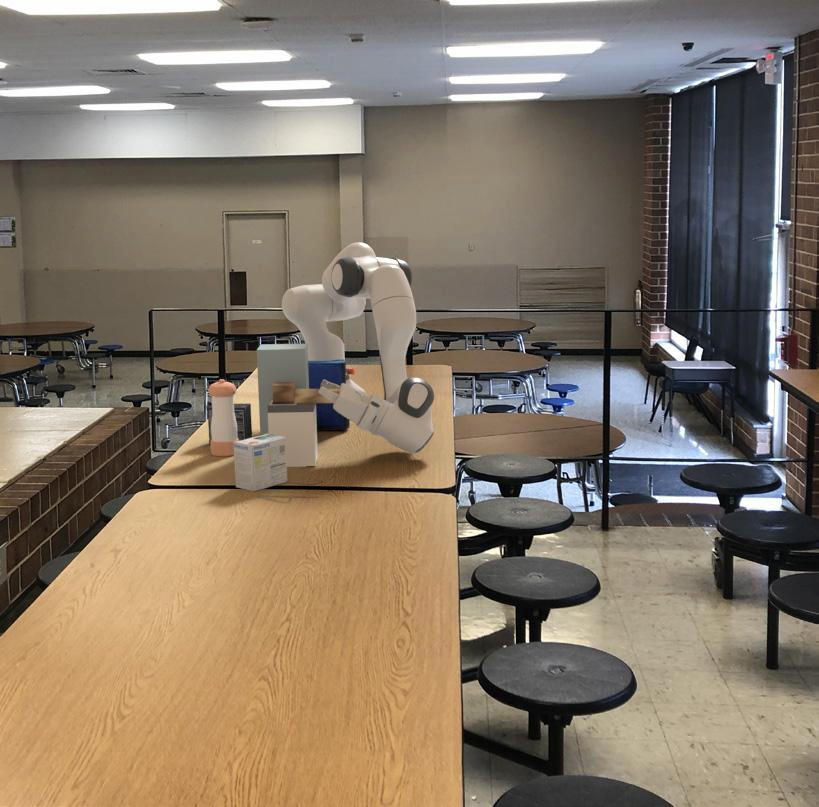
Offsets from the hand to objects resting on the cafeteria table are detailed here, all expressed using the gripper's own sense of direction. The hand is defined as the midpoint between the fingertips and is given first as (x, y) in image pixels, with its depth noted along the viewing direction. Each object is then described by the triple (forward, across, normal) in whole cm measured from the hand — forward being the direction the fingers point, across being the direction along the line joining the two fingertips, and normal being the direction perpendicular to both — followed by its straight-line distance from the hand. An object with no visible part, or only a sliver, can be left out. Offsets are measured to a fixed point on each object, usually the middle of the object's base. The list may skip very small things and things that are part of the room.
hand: (320, 385), depth 272 cm
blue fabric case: (-8, -37, +17) cm, 42 cm away
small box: (+13, -23, +30) cm, 39 cm away
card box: (-3, 0, +20) cm, 20 cm away
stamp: (+1, 0, +5) cm, 5 cm away
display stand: (-1, -13, +22) cm, 25 cm away
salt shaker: (+13, -12, +30) cm, 34 cm away
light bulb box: (+2, +21, +23) cm, 31 cm away
